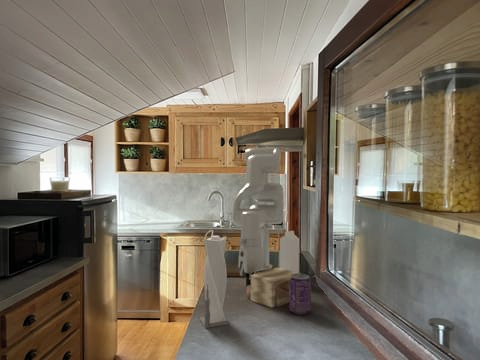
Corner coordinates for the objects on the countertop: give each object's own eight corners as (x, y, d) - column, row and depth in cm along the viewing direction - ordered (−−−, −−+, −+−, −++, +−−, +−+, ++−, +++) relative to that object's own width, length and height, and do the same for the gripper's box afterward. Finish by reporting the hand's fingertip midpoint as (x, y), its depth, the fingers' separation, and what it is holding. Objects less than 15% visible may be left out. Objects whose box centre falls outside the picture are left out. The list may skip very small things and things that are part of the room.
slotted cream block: (245, 298, 127) (245, 273, 127) (271, 288, 138) (271, 266, 138) (274, 308, 117) (274, 281, 117) (300, 297, 128) (300, 272, 128)
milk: (299, 282, 147) (299, 231, 147) (290, 285, 143) (290, 232, 142) (288, 279, 151) (288, 229, 151) (279, 282, 147) (279, 231, 147)
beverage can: (297, 306, 119) (297, 271, 119) (315, 311, 114) (315, 276, 114) (285, 311, 114) (285, 275, 114) (302, 317, 109) (302, 280, 109)
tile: (246, 293, 132) (246, 286, 132) (258, 289, 137) (258, 282, 137) (279, 304, 121) (279, 296, 121) (291, 299, 126) (291, 291, 126)
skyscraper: (198, 317, 109) (198, 230, 109) (222, 313, 112) (222, 228, 112) (205, 328, 102) (205, 234, 101) (230, 323, 105) (231, 232, 104)
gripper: (244, 246, 128) (244, 295, 128) (269, 241, 138) (269, 286, 139) (230, 243, 133) (230, 290, 133) (256, 238, 144) (255, 282, 144)
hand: (250, 288), depth 136 cm, fingers closed
